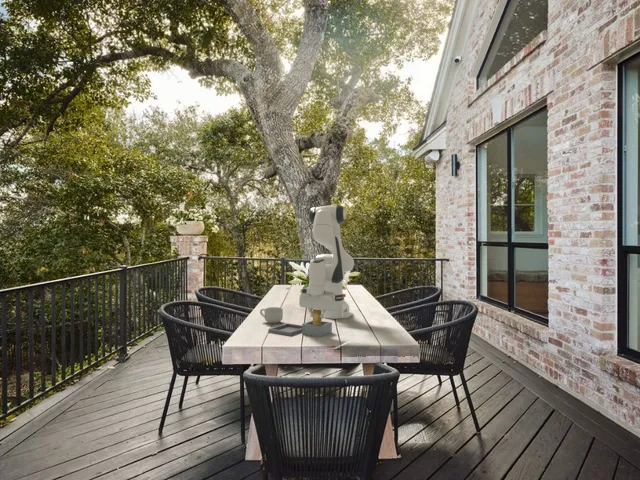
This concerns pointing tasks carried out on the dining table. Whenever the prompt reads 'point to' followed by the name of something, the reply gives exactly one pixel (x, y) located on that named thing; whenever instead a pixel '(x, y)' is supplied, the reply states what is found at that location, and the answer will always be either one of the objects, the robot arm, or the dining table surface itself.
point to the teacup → (272, 314)
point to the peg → (317, 317)
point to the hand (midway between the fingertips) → (317, 317)
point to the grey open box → (317, 329)
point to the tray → (286, 329)
